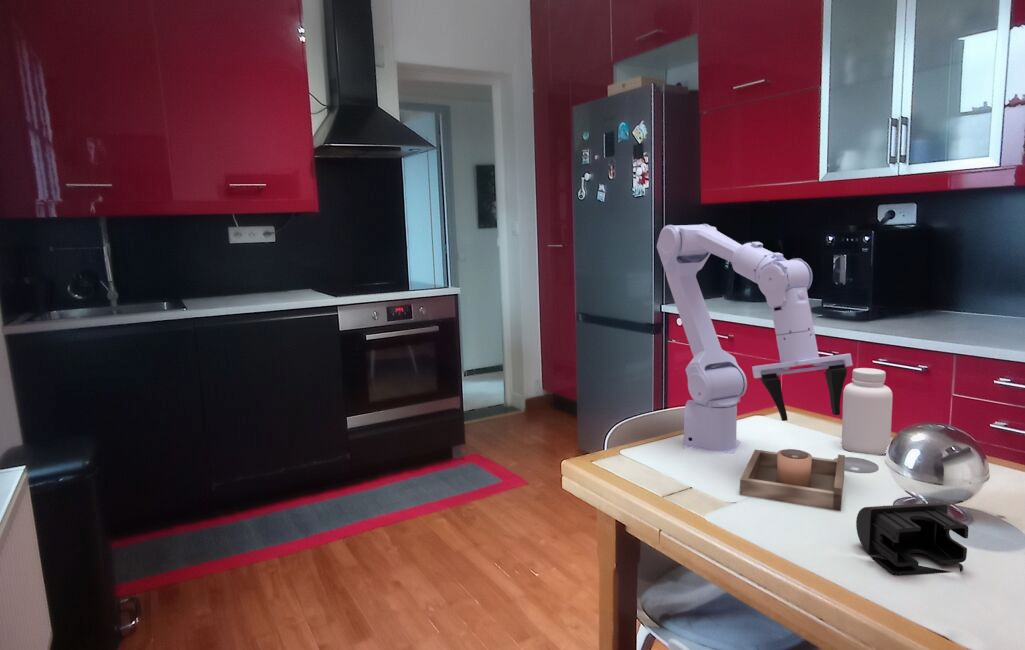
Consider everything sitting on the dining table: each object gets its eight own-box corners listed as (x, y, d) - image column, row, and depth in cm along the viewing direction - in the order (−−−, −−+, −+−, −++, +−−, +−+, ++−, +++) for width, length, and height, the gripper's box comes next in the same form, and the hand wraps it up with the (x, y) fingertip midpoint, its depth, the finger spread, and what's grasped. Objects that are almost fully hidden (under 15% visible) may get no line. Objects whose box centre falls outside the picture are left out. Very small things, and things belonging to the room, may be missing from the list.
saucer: (831, 472, 107) (831, 467, 107) (833, 459, 113) (833, 454, 113) (878, 478, 104) (878, 474, 104) (878, 464, 110) (878, 460, 110)
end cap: (927, 543, 83) (930, 494, 82) (969, 571, 76) (973, 518, 75) (853, 548, 82) (856, 499, 81) (889, 577, 75) (892, 524, 74)
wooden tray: (739, 497, 99) (740, 473, 98) (754, 465, 111) (755, 444, 111) (840, 514, 92) (841, 488, 91) (843, 478, 105) (844, 455, 104)
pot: (774, 487, 101) (775, 456, 100) (778, 476, 105) (779, 446, 104) (809, 492, 98) (810, 460, 97) (811, 481, 102) (812, 450, 102)
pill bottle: (877, 442, 121) (881, 365, 119) (898, 456, 114) (903, 375, 111) (834, 442, 122) (837, 366, 120) (852, 456, 114) (855, 375, 112)
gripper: (749, 339, 100) (764, 425, 99) (849, 324, 96) (866, 413, 95) (746, 340, 107) (760, 420, 105) (839, 327, 103) (855, 410, 101)
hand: (810, 417), depth 100 cm, fingers open, 7 cm apart
